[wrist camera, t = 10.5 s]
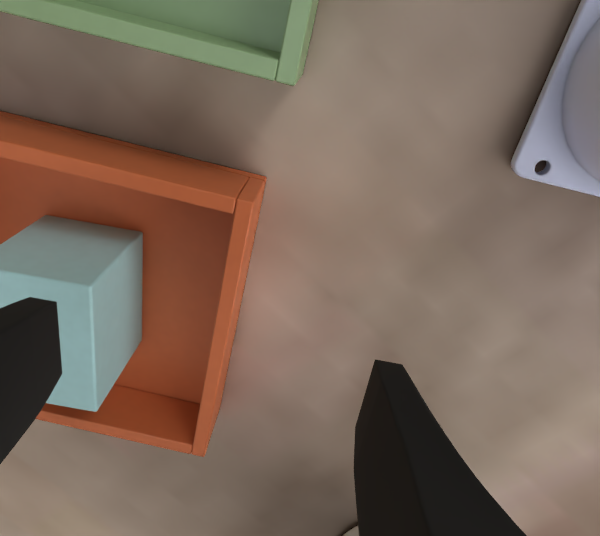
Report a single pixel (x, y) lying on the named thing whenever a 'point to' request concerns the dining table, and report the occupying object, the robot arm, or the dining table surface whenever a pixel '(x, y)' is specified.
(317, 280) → the dining table surface
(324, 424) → the dining table surface
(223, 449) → the dining table surface
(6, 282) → the light blue box
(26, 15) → the sage tote
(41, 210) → the terracotta tote
